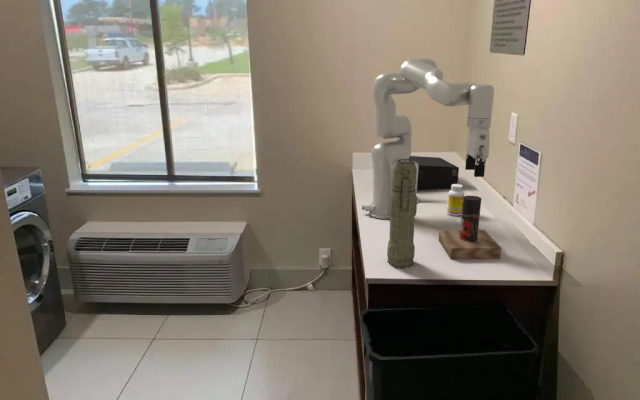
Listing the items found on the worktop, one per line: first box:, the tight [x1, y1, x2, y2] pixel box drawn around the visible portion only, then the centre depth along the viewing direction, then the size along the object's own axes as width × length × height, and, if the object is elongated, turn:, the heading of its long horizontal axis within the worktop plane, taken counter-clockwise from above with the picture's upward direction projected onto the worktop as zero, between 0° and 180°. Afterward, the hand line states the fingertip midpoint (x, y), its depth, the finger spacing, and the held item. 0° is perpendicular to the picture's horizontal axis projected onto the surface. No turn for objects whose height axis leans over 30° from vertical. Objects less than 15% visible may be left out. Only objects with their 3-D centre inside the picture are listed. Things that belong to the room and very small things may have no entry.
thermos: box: [386, 159, 418, 269], centre depth 159 cm, size 9×12×35 cm
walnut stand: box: [438, 229, 502, 260], centre depth 174 cm, size 17×17×4 cm
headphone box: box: [409, 155, 460, 192], centre depth 258 cm, size 25×35×14 cm
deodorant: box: [459, 195, 482, 241], centre depth 172 cm, size 6×6×15 cm
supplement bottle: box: [446, 183, 465, 217], centre depth 210 cm, size 7×7×13 cm
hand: (474, 173), depth 167 cm, fingers open, 9 cm apart
